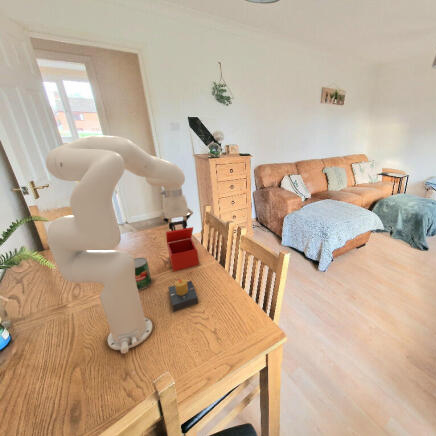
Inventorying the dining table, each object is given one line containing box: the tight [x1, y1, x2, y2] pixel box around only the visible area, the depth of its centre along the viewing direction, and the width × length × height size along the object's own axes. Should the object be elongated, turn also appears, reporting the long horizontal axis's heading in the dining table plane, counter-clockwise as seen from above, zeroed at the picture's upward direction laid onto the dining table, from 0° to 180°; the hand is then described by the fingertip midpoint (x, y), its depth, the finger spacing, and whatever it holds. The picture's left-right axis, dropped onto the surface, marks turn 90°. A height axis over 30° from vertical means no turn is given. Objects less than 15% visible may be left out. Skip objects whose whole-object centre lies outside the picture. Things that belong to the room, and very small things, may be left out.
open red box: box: [166, 237, 200, 272], centre depth 119 cm, size 14×12×9 cm
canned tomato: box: [134, 257, 153, 291], centre depth 101 cm, size 8×8×11 cm
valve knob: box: [174, 278, 188, 296], centre depth 95 cm, size 4×4×5 cm
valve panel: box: [167, 280, 199, 312], centre depth 96 cm, size 12×9×3 cm
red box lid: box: [165, 220, 194, 244], centre depth 117 cm, size 14×12×6 cm
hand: (178, 228), depth 115 cm, fingers closed on red box lid, 5 cm apart
